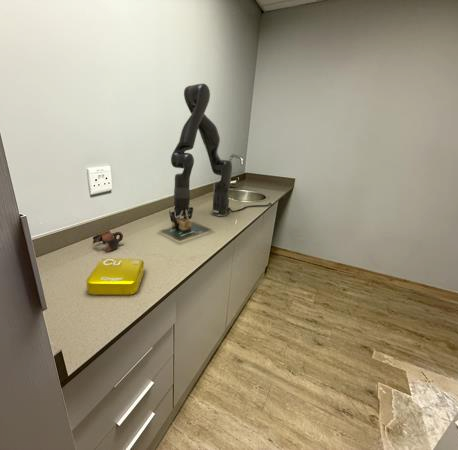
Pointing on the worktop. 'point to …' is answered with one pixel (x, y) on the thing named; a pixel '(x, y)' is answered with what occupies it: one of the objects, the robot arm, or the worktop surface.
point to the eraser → (183, 225)
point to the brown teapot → (108, 239)
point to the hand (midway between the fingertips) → (181, 228)
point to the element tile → (116, 277)
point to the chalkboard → (180, 236)
